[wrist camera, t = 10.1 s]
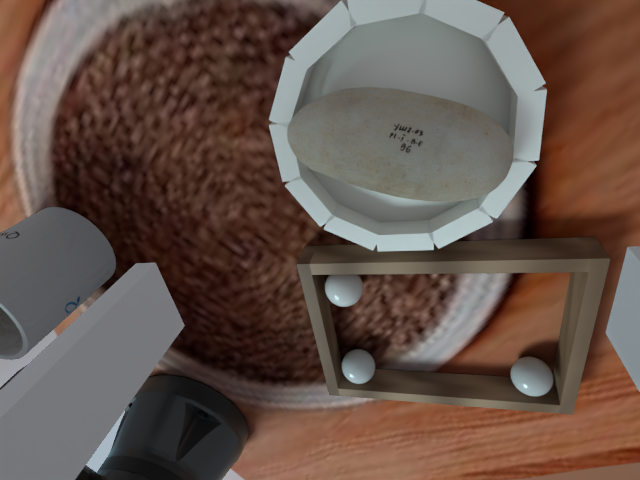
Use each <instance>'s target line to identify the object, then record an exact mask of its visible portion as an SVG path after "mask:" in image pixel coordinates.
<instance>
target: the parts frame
mask: <svg viewBox="0 0 640 480" xmlns="http://www.w3.org/2000/svg"><path fill="white" fill-rule="evenodd" d="M610 259H611V258H610V257H609V256H608V254H607V253H606V251H605V250H604V249H603V247H602V246H601V244H600V243H599V241H598V240H597V239H596V237H576V238H544V239H513V240H482V241H454V242H452V243H450V244H448V245H446V246H443V247H441V248H439V249H438V247H437V246H436V245H435V243H434V250H418V251H380V252H378V250H377V245H376V246H375V248H374V250H370V249H368V248H366V247H363V246H361V245H359V244H357V245H326V246H305V247H304V249H303V252H302V254H301V256H300V258H299V260H298V262H297V268H298V272H299V276H300V280H301V284H302V288H303V292H304V296H305V300H306V304H307V308H308V312H309V316H310V320H311V324H312V328H313V332H314V335H315V339H316V343H317V347H318V351H319V355H320V359H321V363H322V367H323V371H324V375H325V379H326V383H327V387H328V391H329V395H337V396H350V397H362V398H374V399H387V400H399V401H412V402H424V403H436V404H449V405H461V406H473V407H486V408H498V409H510V410H523V411H535V412H548V413H560V414H572V415H573V411H574V407H575V403H576V399H577V395H578V391H579V387H580V383H581V378H582V374H583V370H584V366H585V362H586V358H587V354H588V350H589V345H590V341H591V337H592V333H593V329H594V325H595V321H596V317H597V312H598V308H599V304H600V300H601V296H602V292H603V288H604V284H605V280H606V275H607V271H608V267H609V263H610ZM552 272H571V276H570V282H569V287H568V292H567V298H566V303H565V309H564V314H563V320H562V325H561V330H560V336H559V341H558V347H557V352H556V357H555V363H554V368H553V385H552V388H551V389H550V391H548V392H547V393H546V394H544V395H542V396H536V397H535V396H529V395H526V394H524V393H522V392H521V391H519V390H518V389H517V388H516V387H515V385H514V384H513V382H512V379H511V377H504V376H487V375H470V374H453V373H436V372H419V371H402V370H385V369H375V372H374V375H373V376H372V378H371V379H370V380H369V381H368V382H366V383H363V384H355V383H352V382H350V381H349V380H348V379H347V378H346V377H345V376H344V374H343V371H342V361H341V356H340V351H339V347H338V342H337V337H336V333H335V328H334V323H333V319H332V314H331V309H330V304H329V300H328V297H327V295H326V292H325V281H324V276H323V275H349V274H450V273H552Z"/></svg>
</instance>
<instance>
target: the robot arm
mask: <svg viewBox="0 0 640 480" xmlns="http://www.w3.org/2000/svg"><path fill="white" fill-rule="evenodd" d="M184 326H185V325H184V323H183V321H182V319H181V317H180V314H179V312H178V310H177V308H176V306H175V304H174V301H173V299H172V297H171V295H170V293H169V291H168V288H167V286H166V284H165V282H164V280H163V278H162V275H161V273H160V271H159V269H158V267H157V265H156V263H136V264H135V265H134V266H133V267H132V268H130V269H129V270H128V271H127V272H126V273H125V274H124V275H123V276H122V277H121V278H120V279H119V280H118V281H117V282H115V283H114V284H113V285H112V286H111V287H110V288H109V289H108V290H107V291H106V292H105V293H104V294H103V295H102V296H101V297H99V298H98V299H97V300H96V301H95V302H94V303H93V304H92V305H91V306H90V307H89V308H88V309H87V310H86V311H85V312H83V313H82V314H81V315H80V316H79V317H78V318H77V319H76V320H75V321H74V322H73V323H72V324H71V325H70V326H68V327H67V328H66V329H65V330H64V331H63V332H62V333H61V334H60V335H59V336H58V337H57V338H56V339H55V340H54V341H53V342H51V343H50V344H49V345H48V346H47V347H46V348H45V349H44V350H43V351H42V352H41V353H40V354H39V355H37V357H35V358H34V359H33V360H32V361H31V362H30V363H29V364H28V365H26V366H25V367H23V368H22V369H21V370H19V371H18V372H17V373H16V374H14V376H12V377H11V378H10V379H9V380H8V381H7V382H6V383H5V384H4V385H3V386H2V387H1V388H0V480H222V479H223V477H224V476H225V475H226V473H227V472H228V471H229V469H230V468H231V467H232V465H233V464H234V463H235V462H236V461H237V460H238V458H239V457H240V455H241V453H242V451H243V448H244V446H245V443H246V441H247V438H248V434H249V430H248V425H247V423H246V420H245V418H244V417H243V415H242V414H241V412H240V411H239V410H238V409H237V408H236V407H235V406H234V405H233V404H232V403H231V402H230V401H229V400H228V399H227V398H225V397H224V396H223V395H221V394H220V393H218V392H216V391H215V390H213V389H211V388H210V387H208V386H206V385H203V384H201V383H199V382H196V381H193V380H190V379H187V378H183V377H178V376H171V375H158V376H153V377H150V378H148V377H149V375H150V374H151V372H152V371H153V369H154V368H155V367H156V365H157V364H158V362H159V361H160V360H161V358H162V357H163V355H164V354H165V353H166V351H167V350H168V348H169V347H170V346H171V344H172V343H173V341H174V340H175V339H176V337H177V336H178V334H179V333H180V332H181V330H182V329H183V327H184ZM606 335H607V336H608V338H609V340H610V342H611V343H612V345H613V347H614V349H615V350H616V352H617V354H618V355H619V357H620V359H621V361H622V362H623V364H624V366H625V368H626V369H627V371H628V373H629V375H630V376H631V378H632V380H633V381H634V383H635V385H636V387H637V388H638V390H639V392H640V246H636V247H627V251H626V255H625V259H624V263H623V266H622V270H621V274H620V278H619V282H618V286H617V290H616V294H615V298H614V302H613V305H612V309H611V313H610V317H609V321H608V325H607V329H606ZM124 410H125V414H124V416H123V418H122V421H121V423H120V426H119V429H118V431H117V434H116V437H115V440H114V443H113V446H112V449H111V451H110V454H109V455H108V457H107V458H106V460H105V461H104V463H103V464H102V466H101V467H100V469H99V470H98V472H97V473H96V472H94V471H93V470H92V469H90V468H89V467H88V466H86V464H87V462H88V461H89V459H90V458H91V457H92V455H93V454H94V452H95V451H96V449H97V448H98V447H99V445H100V444H101V442H102V441H103V440H104V438H105V437H106V436H107V434H108V433H109V431H110V430H111V428H112V427H113V426H114V424H115V423H116V421H117V420H118V419H119V417H120V416H121V414H122V413H123V411H124Z"/></svg>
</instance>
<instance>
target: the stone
mask: <svg viewBox="0 0 640 480" xmlns="http://www.w3.org/2000/svg"><path fill="white" fill-rule="evenodd" d="M287 137H288V143H289V145H290V148H291V149H292V151H293V153H294V154H295V156H296V157H297V158H298V159H299V160H300V161H301V162H302V163H303V164H304V165H306V166H307V167H308V168H310V169H312V170H314V171H316V172H319V173H321V174H324V175H326V176H329V177H332V178H334V179H337V180H339V181H341V182H344V183H347V184H350V185H354V186H357V187H360V188H364V189H367V190H371V191H375V192H379V193H383V194H387V195H391V196H395V197H400V198H406V199H412V200H423V201H433V202H455V201H465V200H470V199H475V198H478V197H481V196H484V195H486V194H488V193H490V192H492V191H493V190H494V189H496V188H497V187H498V186H499V185H500V184H501V183H502V182H503V181H504V180H505V178H506V177H507V175H508V172H509V170H510V168H511V165H512V162H513V149H512V145H511V141H510V139H509V137H508V135H507V133H506V132H505V131H504V129H503V128H502V127H501V126H500V125H499V124H498V123H497V122H496V121H495V120H493V119H492V118H491V117H489V116H487V115H485V114H484V113H482V112H480V111H478V110H476V109H474V108H472V107H470V106H467V105H464V104H461V103H458V102H454V101H451V100H447V99H443V98H438V97H434V96H430V95H425V94H419V93H414V92H409V91H404V90H400V89H390V88H375V87H360V88H348V89H343V90H339V91H335V92H332V93H329V94H326V95H323V96H321V97H319V98H318V99H316V100H314V101H312V102H311V103H309V104H307V105H306V106H304V107H303V108H302V109H301V110H299V111H298V112H297V113H296V114H295V116H294V117H293V118H292V120H291V121H290V123H289V125H288V130H287Z"/></svg>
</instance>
